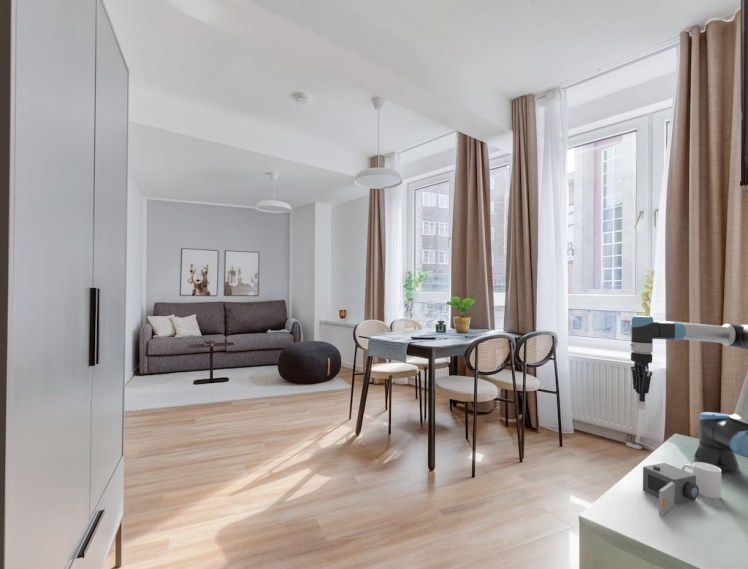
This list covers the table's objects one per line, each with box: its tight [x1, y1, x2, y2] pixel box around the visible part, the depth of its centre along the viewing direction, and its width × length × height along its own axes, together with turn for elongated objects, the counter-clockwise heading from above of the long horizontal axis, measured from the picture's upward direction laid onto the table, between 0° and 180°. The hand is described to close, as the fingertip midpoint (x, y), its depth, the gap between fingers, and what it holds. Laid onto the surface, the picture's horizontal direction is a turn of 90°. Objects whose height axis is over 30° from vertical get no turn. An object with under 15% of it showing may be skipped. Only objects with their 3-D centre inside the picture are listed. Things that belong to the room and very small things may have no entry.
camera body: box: [642, 462, 699, 506], centre depth 146 cm, size 12×13×10 cm
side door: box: [658, 482, 676, 516], centre depth 136 cm, size 2×12×8 cm, turn 126°
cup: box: [680, 462, 722, 500], centre depth 151 cm, size 8×12×10 cm
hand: (640, 408), depth 167 cm, fingers closed
